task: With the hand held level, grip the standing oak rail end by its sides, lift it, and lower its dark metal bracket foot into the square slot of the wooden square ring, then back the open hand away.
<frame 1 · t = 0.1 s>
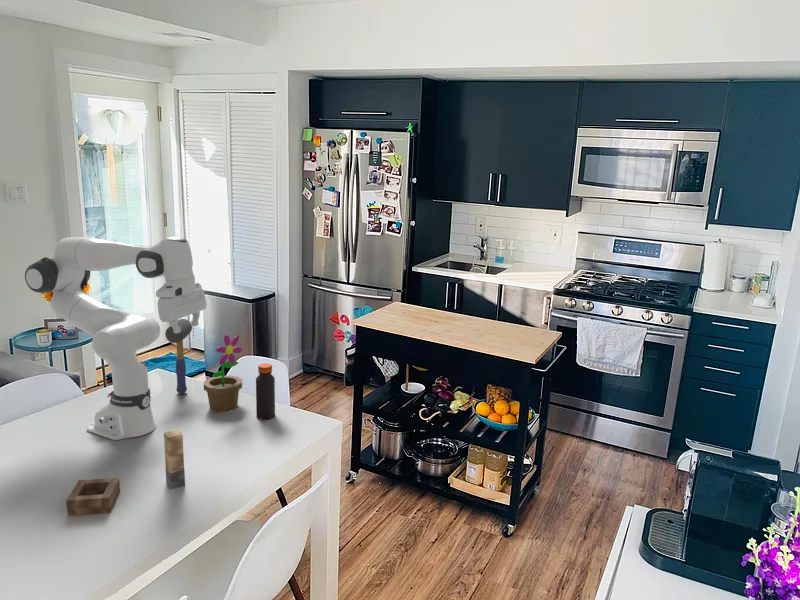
hand: (186, 329, 196), 39 cm above the table, tool pointing down, fingers open, 8 cm apart
bottle: (265, 416, 225), on the table
rubber mallet: (181, 393, 244), on the table
rail end: (175, 484, 176), on the table
wooden square ring: (94, 503, 165), on the table
condiment: (140, 393, 242), on the table
flowerpot: (223, 407, 232), on the table
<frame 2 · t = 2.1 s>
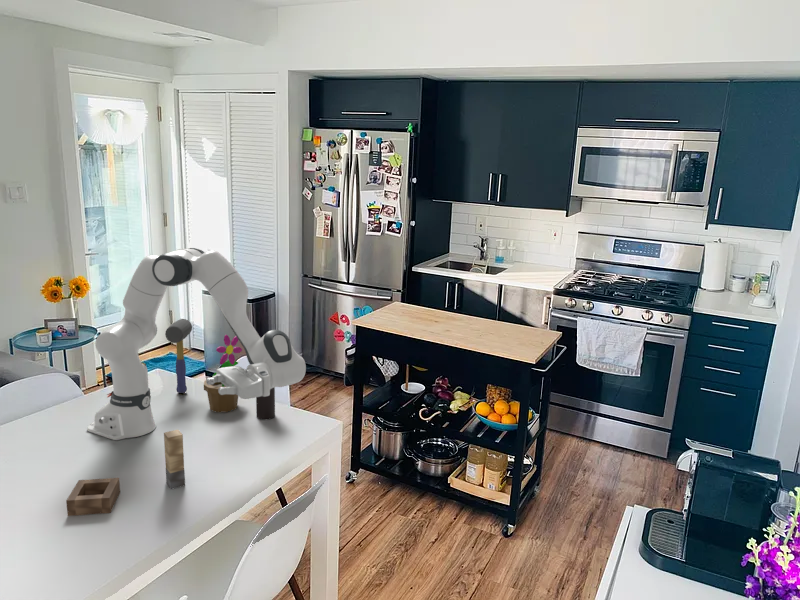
hand: (213, 386, 178), 28 cm above the table, tool horizontal, fingers open, 8 cm apart
nothing on the table moved.
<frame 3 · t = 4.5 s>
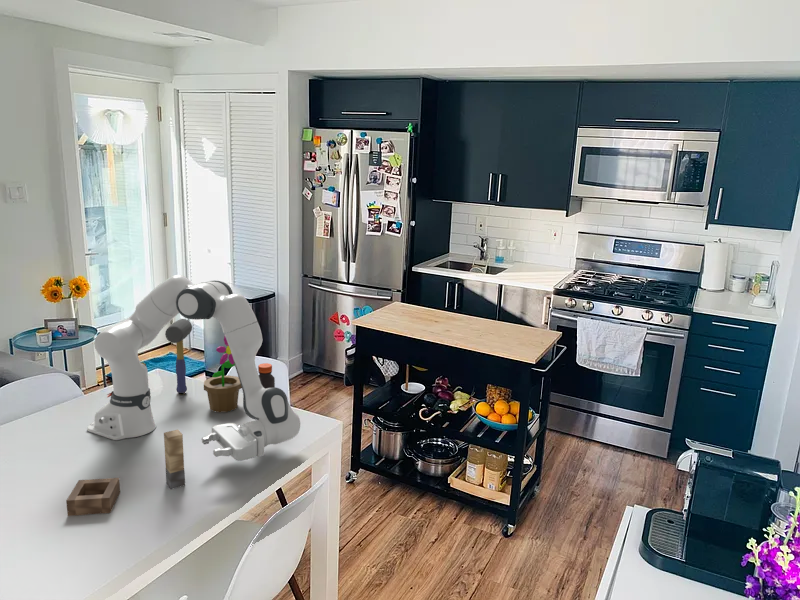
hand: (208, 447, 181), 9 cm above the table, tool horizontal, fingers open, 8 cm apart
nothing on the table moved.
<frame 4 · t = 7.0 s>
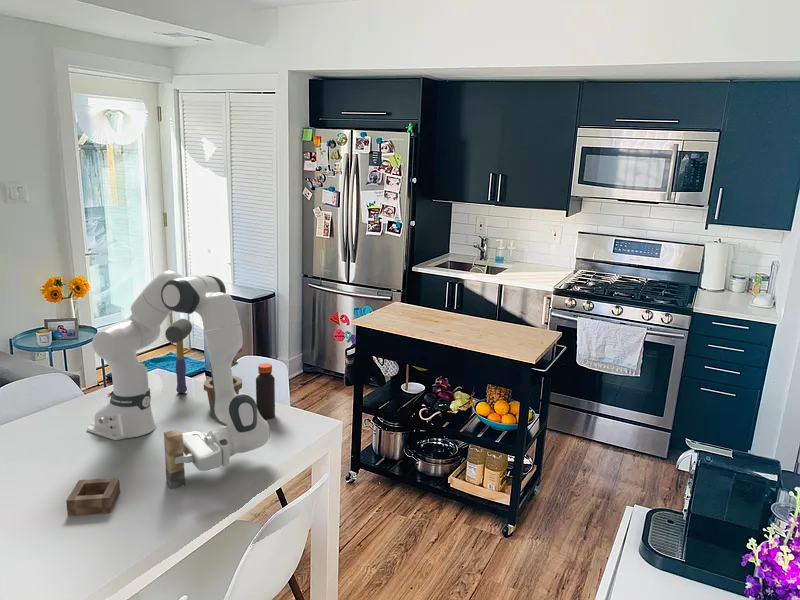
hand: (171, 456, 174), 9 cm above the table, tool horizontal, fingers closed on rail end, 4 cm apart
rail end: (175, 484, 176), on the table, touching gripper
everything else where it was.
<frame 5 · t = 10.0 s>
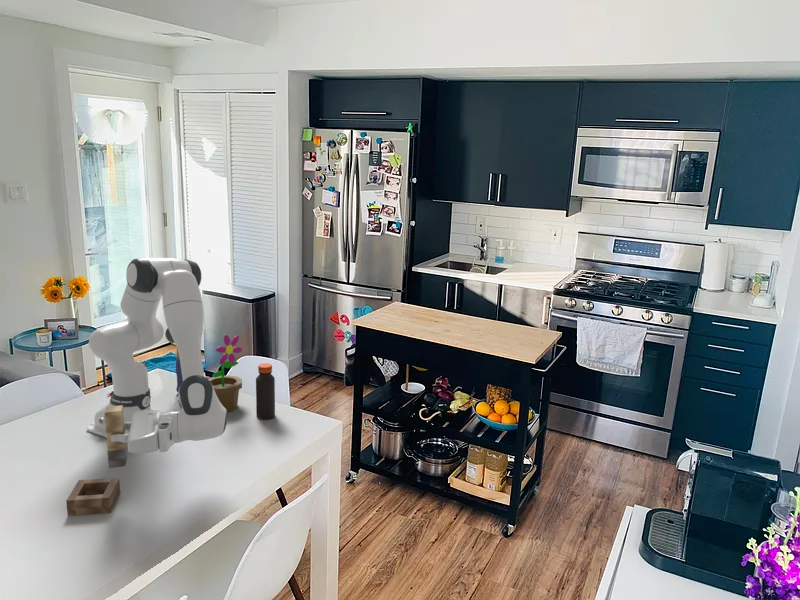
hand: (111, 433, 163), 20 cm above the table, tool horizontal, fingers closed on rail end, 4 cm apart
rail end: (118, 463, 165), point 11 cm above the table, touching gripper
everything else where it was.
when the fingers open (10 cm above the table, at t = 13.2 s): rail end drops 1 cm, resting in wooden square ring.
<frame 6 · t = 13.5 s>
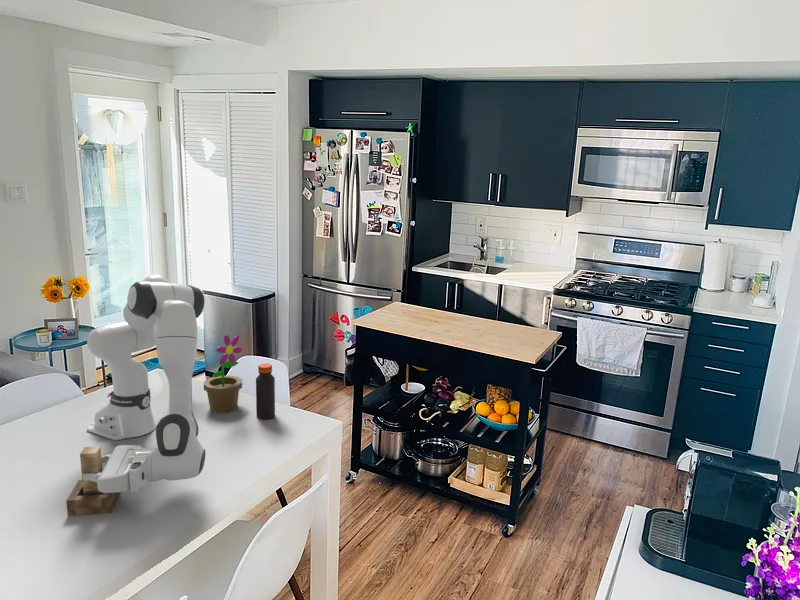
hand: (88, 468, 163), 10 cm above the table, tool horizontal, fingers open, 7 cm apart
rail end: (95, 503, 165), resting in wooden square ring
everything else where it was.
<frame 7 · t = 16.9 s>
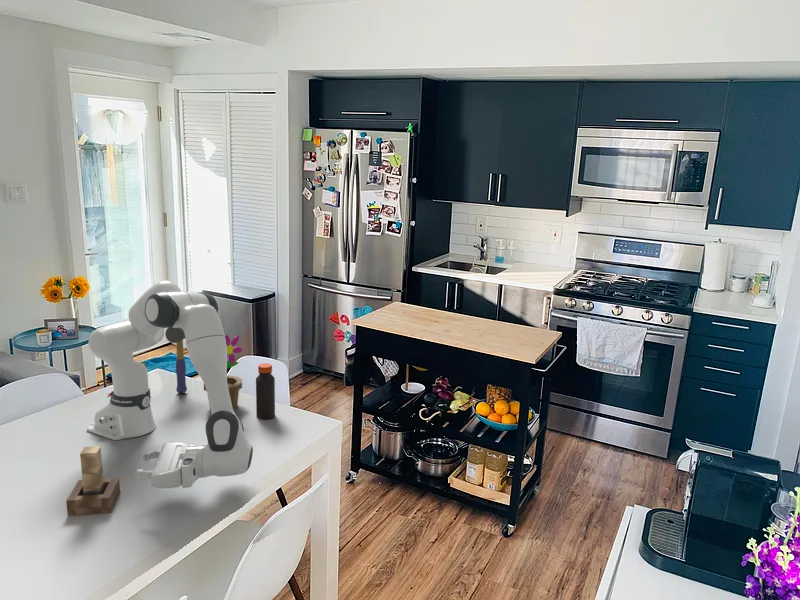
hand: (139, 464, 165), 11 cm above the table, tool horizontal, fingers open, 8 cm apart
nothing on the table moved.
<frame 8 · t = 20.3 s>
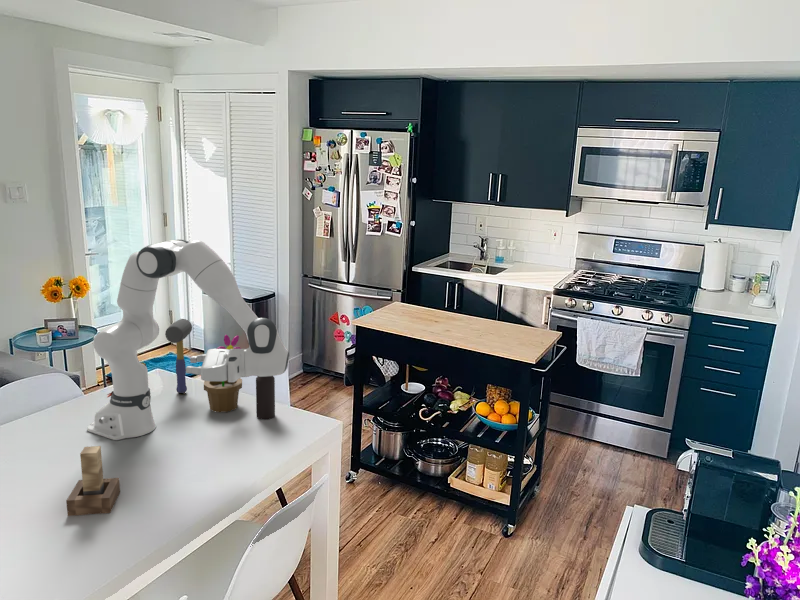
hand: (188, 364, 183), 32 cm above the table, tool horizontal, fingers open, 8 cm apart
nothing on the table moved.
at the end: rail end 0.1 cm off-centre on the wooden square ring, point 0.0 cm above the wooden square ring's base; rail end tilted 0°; the gripper is holding nothing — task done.
